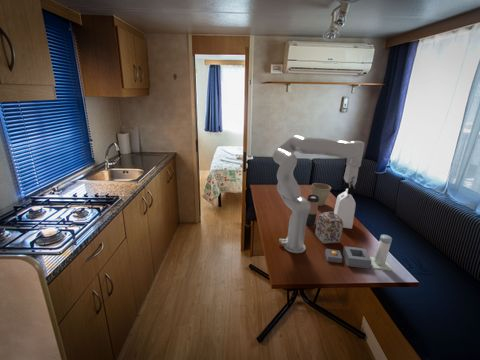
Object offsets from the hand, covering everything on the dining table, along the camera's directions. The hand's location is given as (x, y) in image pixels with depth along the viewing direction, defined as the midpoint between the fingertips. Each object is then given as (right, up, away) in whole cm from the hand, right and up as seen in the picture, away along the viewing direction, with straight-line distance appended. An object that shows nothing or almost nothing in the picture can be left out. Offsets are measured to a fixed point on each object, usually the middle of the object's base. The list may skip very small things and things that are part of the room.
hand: (348, 191), depth 153 cm
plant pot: (+2, -14, +65) cm, 66 cm away
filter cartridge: (+13, -39, -11) cm, 42 cm away
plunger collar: (-12, -37, -7) cm, 39 cm away
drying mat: (+13, -39, -10) cm, 43 cm away
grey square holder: (0, -38, -9) cm, 39 cm away
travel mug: (-14, -24, +32) cm, 42 cm away
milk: (+9, -25, +33) cm, 42 cm away
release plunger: (-11, -37, -7) cm, 39 cm away
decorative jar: (-8, -31, +13) cm, 34 cm away
